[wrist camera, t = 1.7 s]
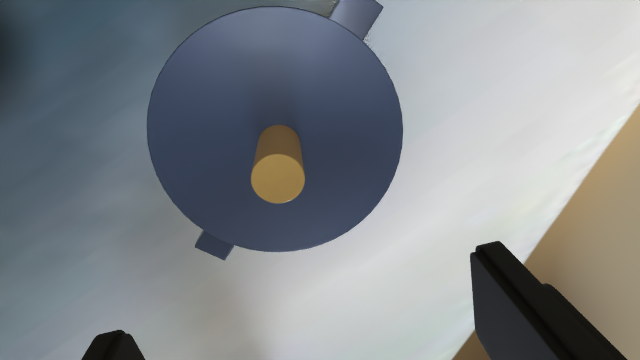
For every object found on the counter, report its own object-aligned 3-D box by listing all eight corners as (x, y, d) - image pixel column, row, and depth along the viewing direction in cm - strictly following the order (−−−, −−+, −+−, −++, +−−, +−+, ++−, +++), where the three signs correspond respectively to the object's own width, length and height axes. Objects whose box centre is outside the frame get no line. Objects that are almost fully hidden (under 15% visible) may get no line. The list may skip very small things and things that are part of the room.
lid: (112, 180, 24) (56, 233, 18) (224, -56, 20) (198, -90, 14) (317, 275, 29) (326, 344, 22) (446, 99, 24) (500, 125, 18)
